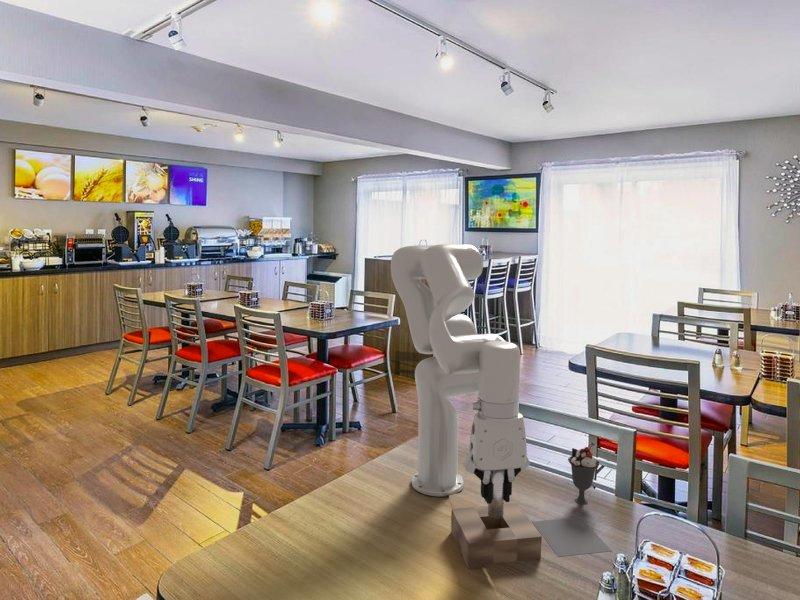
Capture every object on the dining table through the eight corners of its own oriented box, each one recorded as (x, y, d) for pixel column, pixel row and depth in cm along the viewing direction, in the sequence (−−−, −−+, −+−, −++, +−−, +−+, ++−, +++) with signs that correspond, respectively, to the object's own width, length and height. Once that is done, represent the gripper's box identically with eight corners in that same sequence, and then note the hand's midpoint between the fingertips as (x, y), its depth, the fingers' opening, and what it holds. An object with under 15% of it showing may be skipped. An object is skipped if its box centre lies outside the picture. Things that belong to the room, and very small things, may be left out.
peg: (485, 511, 103) (486, 462, 101) (500, 509, 103) (501, 461, 102) (490, 519, 100) (492, 469, 98) (505, 517, 100) (507, 468, 99)
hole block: (451, 531, 107) (451, 508, 107) (515, 525, 110) (516, 503, 109) (468, 569, 96) (469, 543, 95) (540, 561, 98) (541, 536, 97)
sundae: (599, 513, 115) (603, 447, 113) (567, 509, 116) (570, 445, 114) (594, 498, 121) (598, 436, 119) (564, 495, 122) (567, 433, 120)
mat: (531, 524, 110) (531, 521, 110) (580, 519, 112) (580, 517, 112) (558, 559, 98) (558, 556, 98) (611, 553, 100) (612, 550, 100)
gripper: (462, 416, 94) (460, 513, 96) (547, 411, 96) (544, 505, 99) (451, 403, 101) (449, 493, 103) (531, 399, 104) (528, 487, 106)
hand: (495, 498), depth 101 cm, fingers closed on peg, 3 cm apart
